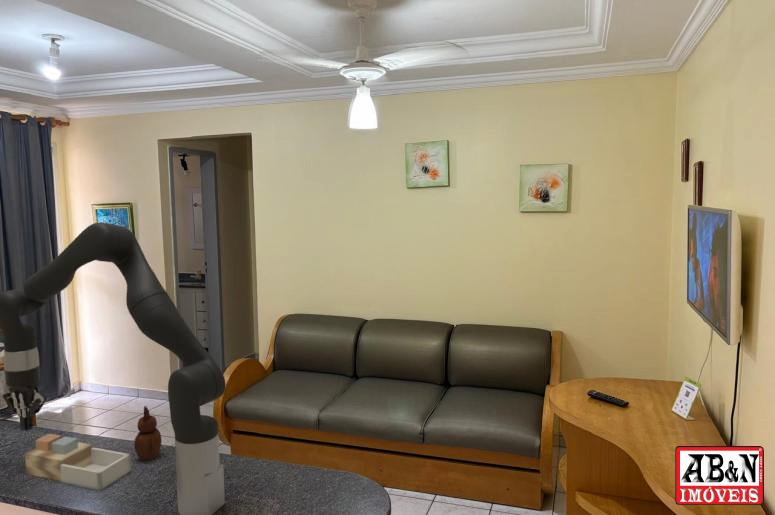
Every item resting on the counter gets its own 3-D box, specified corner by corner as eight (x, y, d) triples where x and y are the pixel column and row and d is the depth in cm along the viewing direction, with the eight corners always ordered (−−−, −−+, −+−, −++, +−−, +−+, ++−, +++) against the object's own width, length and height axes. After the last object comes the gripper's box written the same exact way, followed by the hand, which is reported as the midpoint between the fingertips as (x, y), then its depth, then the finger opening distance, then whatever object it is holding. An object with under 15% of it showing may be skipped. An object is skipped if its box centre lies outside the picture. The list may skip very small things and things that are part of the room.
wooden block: (92, 464, 144) (91, 444, 144) (63, 481, 136) (61, 460, 135) (57, 457, 148) (56, 438, 147) (26, 473, 140) (25, 453, 139)
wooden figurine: (150, 464, 145) (148, 409, 143) (131, 461, 146) (128, 407, 144) (166, 452, 151) (163, 399, 150) (147, 450, 153) (144, 398, 151)
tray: (131, 470, 141) (130, 454, 141) (100, 490, 132) (99, 473, 131) (94, 463, 145) (93, 447, 144) (61, 482, 135) (60, 465, 135)
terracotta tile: (61, 444, 144) (60, 435, 143) (48, 451, 140) (47, 442, 140) (49, 442, 145) (49, 433, 145) (36, 449, 141) (35, 440, 141)
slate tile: (78, 447, 142) (77, 438, 142) (64, 454, 138) (64, 445, 138) (66, 445, 143) (65, 436, 143) (52, 452, 139) (51, 443, 139)
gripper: (54, 363, 144) (58, 427, 146) (16, 358, 148) (21, 420, 150) (28, 372, 137) (32, 439, 139) (-12, 367, 141) (-6, 431, 143)
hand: (26, 429), depth 144 cm, fingers closed
